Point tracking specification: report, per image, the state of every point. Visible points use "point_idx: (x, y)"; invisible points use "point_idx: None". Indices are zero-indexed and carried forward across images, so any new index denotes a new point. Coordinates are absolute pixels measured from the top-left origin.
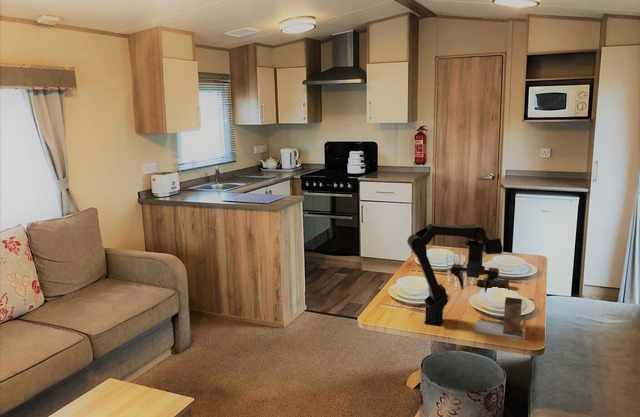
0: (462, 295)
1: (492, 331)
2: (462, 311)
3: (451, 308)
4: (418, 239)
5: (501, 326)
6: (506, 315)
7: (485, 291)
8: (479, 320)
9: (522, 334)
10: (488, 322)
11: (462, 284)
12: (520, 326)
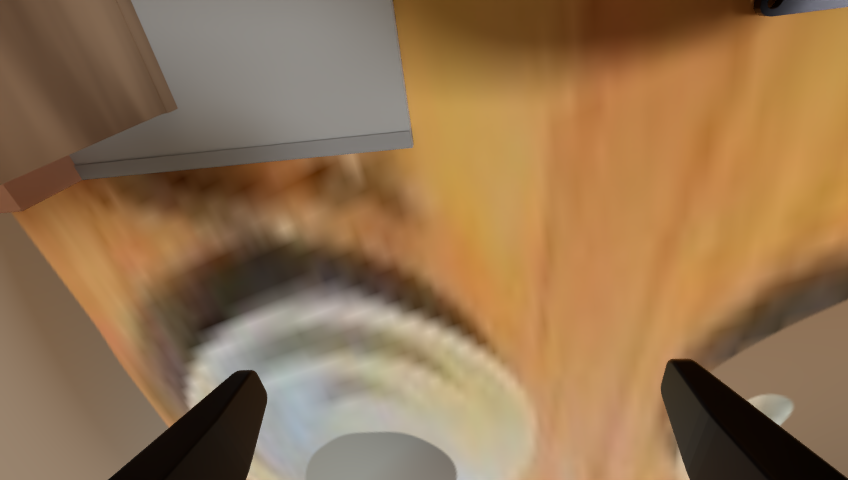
0: (580, 459)
1: None
2: (558, 271)
3: (647, 290)
4: None
5: (200, 111)
6: None
7: (233, 381)
8: (394, 147)
9: None
10: (316, 140)
11: (769, 469)
12: (93, 173)
